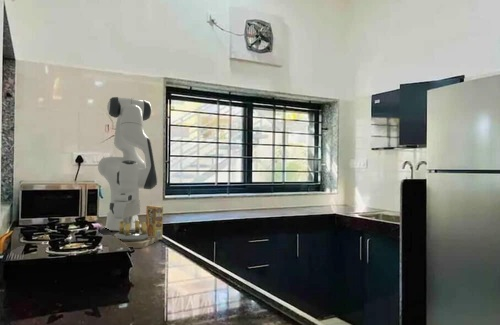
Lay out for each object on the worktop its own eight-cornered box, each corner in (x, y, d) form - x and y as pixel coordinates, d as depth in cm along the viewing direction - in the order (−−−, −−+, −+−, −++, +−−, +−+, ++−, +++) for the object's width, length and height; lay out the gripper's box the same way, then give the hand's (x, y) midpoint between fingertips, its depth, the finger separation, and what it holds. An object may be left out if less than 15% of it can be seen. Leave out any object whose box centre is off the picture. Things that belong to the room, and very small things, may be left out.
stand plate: (122, 239, 179) (122, 234, 179) (158, 240, 177) (158, 235, 177) (103, 246, 161) (103, 240, 161) (142, 248, 159) (142, 242, 159)
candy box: (162, 239, 181) (163, 206, 181) (154, 240, 178) (155, 207, 178) (153, 237, 187) (154, 205, 187) (145, 237, 184) (146, 205, 185)
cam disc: (123, 235, 176) (123, 219, 176) (152, 236, 174) (153, 221, 174) (108, 240, 162) (108, 223, 162) (140, 241, 160) (140, 225, 160)
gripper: (131, 194, 186) (130, 223, 186) (111, 196, 166) (110, 229, 166) (144, 195, 186) (143, 224, 185) (125, 197, 165) (124, 229, 165)
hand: (127, 226), depth 175 cm, fingers closed
